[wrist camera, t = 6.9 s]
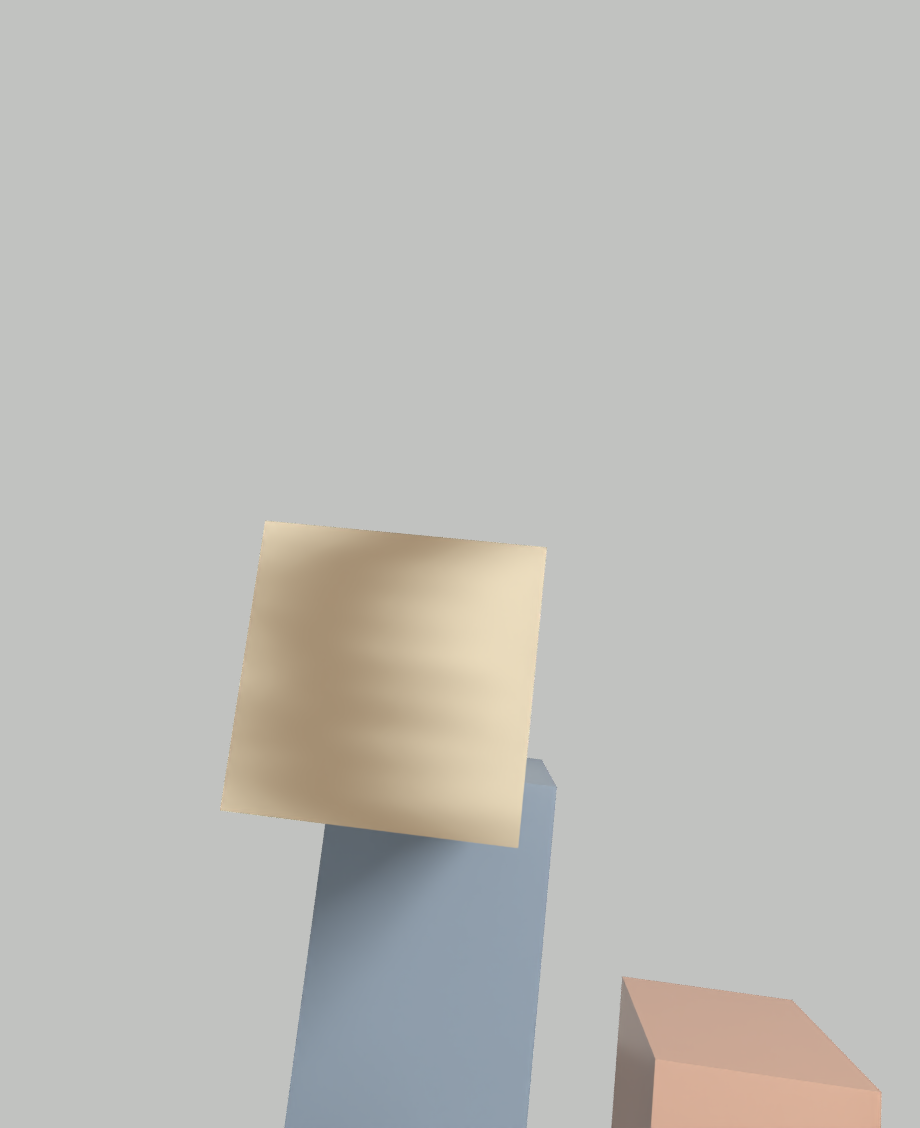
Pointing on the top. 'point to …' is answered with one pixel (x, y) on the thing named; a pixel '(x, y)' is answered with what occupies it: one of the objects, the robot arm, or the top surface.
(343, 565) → the bar
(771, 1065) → the step
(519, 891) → the post
